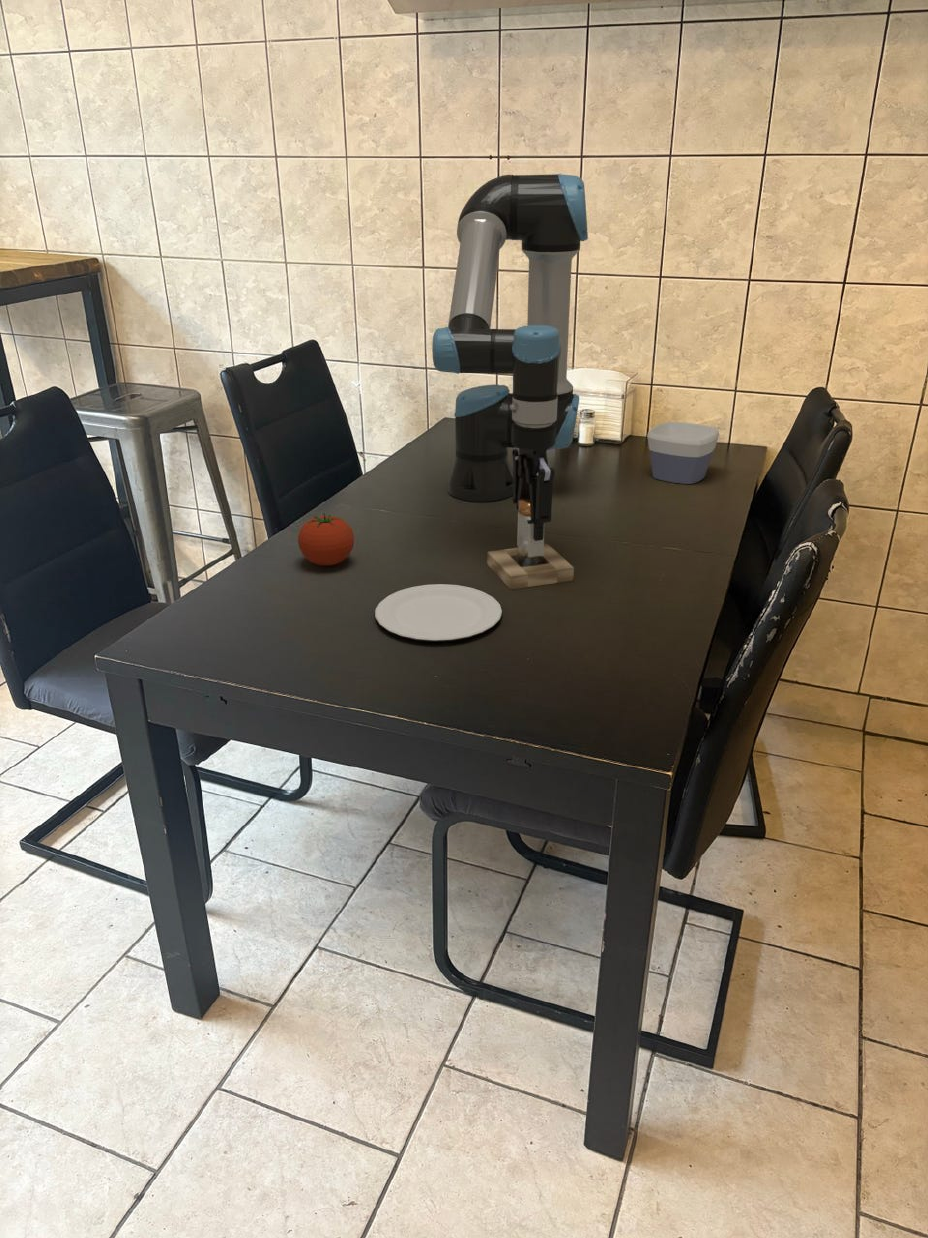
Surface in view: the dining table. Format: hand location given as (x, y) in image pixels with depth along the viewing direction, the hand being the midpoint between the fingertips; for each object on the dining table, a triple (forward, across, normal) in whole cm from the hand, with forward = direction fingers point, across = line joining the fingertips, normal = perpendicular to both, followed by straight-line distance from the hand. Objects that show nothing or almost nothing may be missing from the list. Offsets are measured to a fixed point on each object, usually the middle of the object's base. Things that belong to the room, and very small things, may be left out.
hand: (530, 550), depth 164 cm
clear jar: (+4, 0, 0) cm, 4 cm away
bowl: (+5, -41, +55) cm, 69 cm away
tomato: (+4, -16, -34) cm, 38 cm away
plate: (+5, +12, -21) cm, 25 cm away
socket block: (+4, 0, 0) cm, 4 cm away
